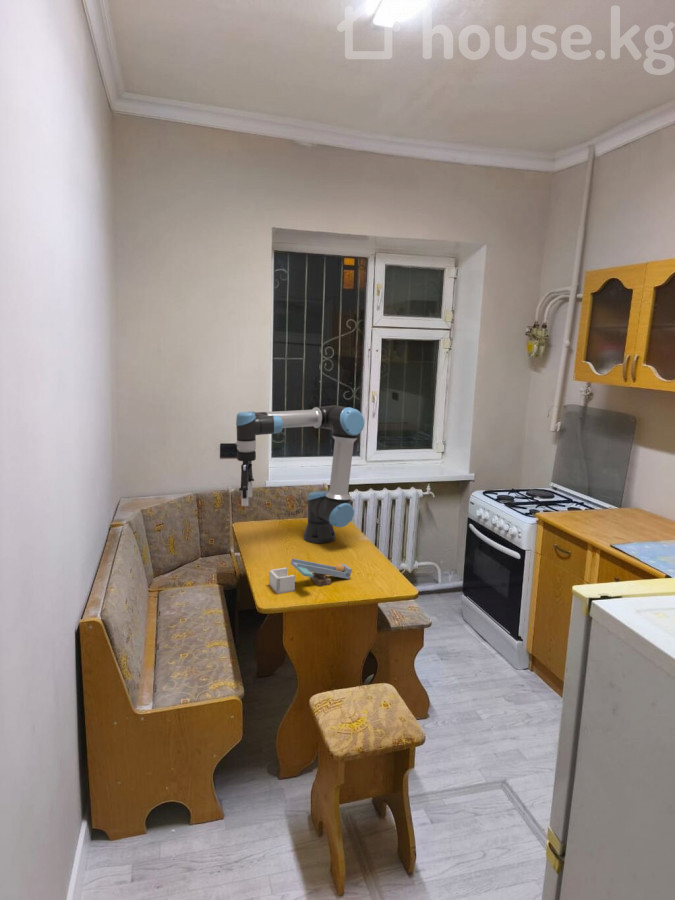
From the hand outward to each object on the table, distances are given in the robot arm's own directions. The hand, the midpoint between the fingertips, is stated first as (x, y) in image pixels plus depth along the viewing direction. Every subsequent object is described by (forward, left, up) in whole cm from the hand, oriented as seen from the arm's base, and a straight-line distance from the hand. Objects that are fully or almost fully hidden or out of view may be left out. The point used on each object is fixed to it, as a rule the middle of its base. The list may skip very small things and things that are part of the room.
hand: (247, 501), depth 239 cm
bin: (-5, +28, -28) cm, 39 cm away
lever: (-21, +31, -24) cm, 44 cm away
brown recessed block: (-21, +28, -28) cm, 44 cm away
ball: (-29, +28, -25) cm, 47 cm away
